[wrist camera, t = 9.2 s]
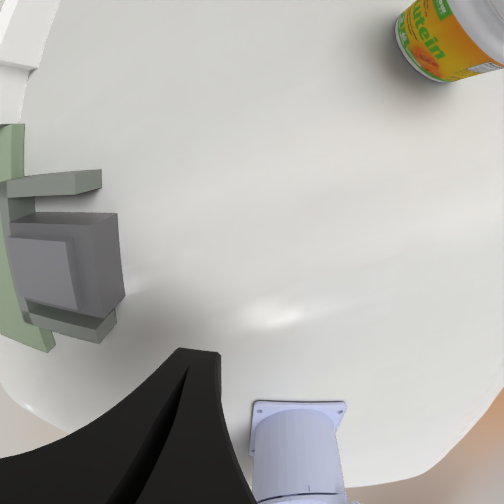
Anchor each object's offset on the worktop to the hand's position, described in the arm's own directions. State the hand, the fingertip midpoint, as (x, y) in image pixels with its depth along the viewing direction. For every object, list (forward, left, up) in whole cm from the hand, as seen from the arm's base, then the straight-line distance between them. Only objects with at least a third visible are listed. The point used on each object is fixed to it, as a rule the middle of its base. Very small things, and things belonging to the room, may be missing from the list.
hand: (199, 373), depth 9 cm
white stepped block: (+16, +19, -11) cm, 26 cm away
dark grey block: (0, +12, -10) cm, 16 cm away
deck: (0, +17, -10) cm, 20 cm away
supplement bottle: (+16, -12, -10) cm, 22 cm away
